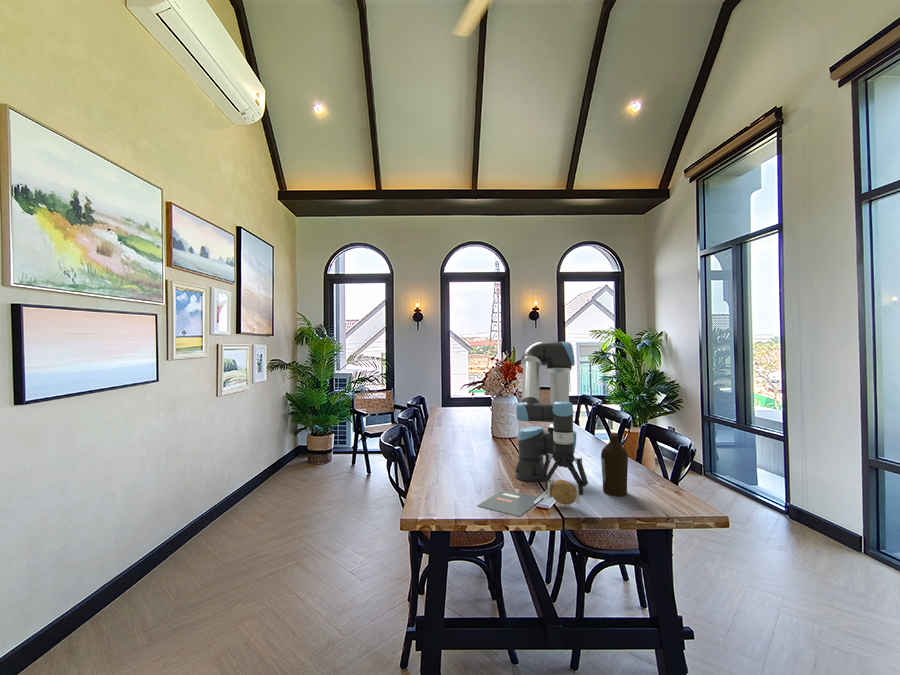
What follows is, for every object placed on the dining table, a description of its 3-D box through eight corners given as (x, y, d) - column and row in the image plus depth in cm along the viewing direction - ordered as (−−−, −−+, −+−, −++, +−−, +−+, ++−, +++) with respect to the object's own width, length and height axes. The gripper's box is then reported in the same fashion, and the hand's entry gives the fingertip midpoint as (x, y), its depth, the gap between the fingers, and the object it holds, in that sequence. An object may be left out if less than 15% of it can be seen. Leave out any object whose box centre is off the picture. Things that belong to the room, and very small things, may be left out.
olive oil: (628, 490, 175) (626, 431, 176) (629, 498, 165) (628, 436, 166) (601, 487, 179) (600, 430, 180) (601, 495, 169) (600, 434, 170)
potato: (571, 496, 163) (571, 476, 164) (581, 510, 149) (581, 488, 149) (547, 496, 164) (547, 476, 164) (554, 509, 150) (554, 487, 150)
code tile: (503, 490, 176) (503, 489, 176) (543, 498, 165) (543, 497, 165) (477, 506, 158) (477, 505, 158) (519, 516, 147) (519, 515, 147)
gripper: (531, 440, 161) (532, 497, 160) (590, 448, 147) (591, 510, 147) (539, 437, 167) (539, 491, 166) (596, 444, 154) (597, 503, 153)
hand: (564, 500), depth 156 cm, fingers closed on potato, 10 cm apart
